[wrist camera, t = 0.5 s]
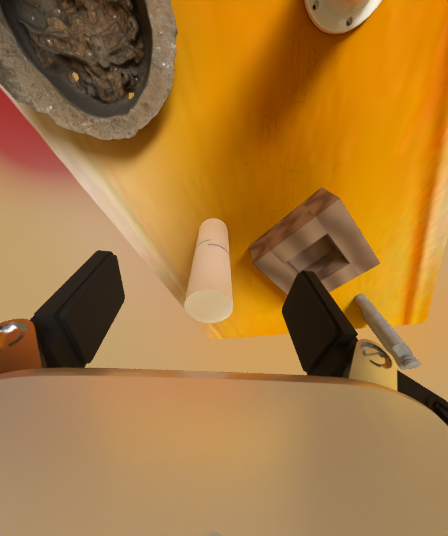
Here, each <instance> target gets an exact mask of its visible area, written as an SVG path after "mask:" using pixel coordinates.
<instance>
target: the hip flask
mask: <svg viewBox="0 0 448 536" xmlns="http://www.w3.org/2000/svg"><path fill="white" fill-rule="evenodd" d="M354 300H355V301H356V303H357V304H358V305H359V307H360V308H361V309H362V312H363V315H364V320H365V321H366V323H367V324H368V326H369V327H370V328H371V329H372V331H373V332H374V334H375V335H376V336H377V338H378V339H379V340H380V342H381V343H382V344H383V346H384V347H385V348H386V350H387V351H388V352H389V353H390V354H391V355H392V356H393V358H394V360H395V361H396V363H397V365H398V366H399V367H400V369H403V370H405V369H412V368H415V367H418V366H419V365H420V364H421V363H420V361H419V360H417V359H416V358H415V357H414V356H413V354H412V352H411V350H410V348H409V347H408V346H407V345H406V343H405V342H404V341H403V340H402V339H401V338H400V336H399V335H398V334H397V333H396V332H395V331H394V329H393V328H392V327H391V326H390V325H389V323H388V322H387V321H386V320H385V319H384V318H383V316H382V315H381V314H380V313H379V312H378V310H377V309H376V308H375V307H374V306H373V305H372V303H371V302H370V301H369V300H368V299H367V298H366V296H365V295H363V294H359V295H357V296H355V298H354Z"/></svg>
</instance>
